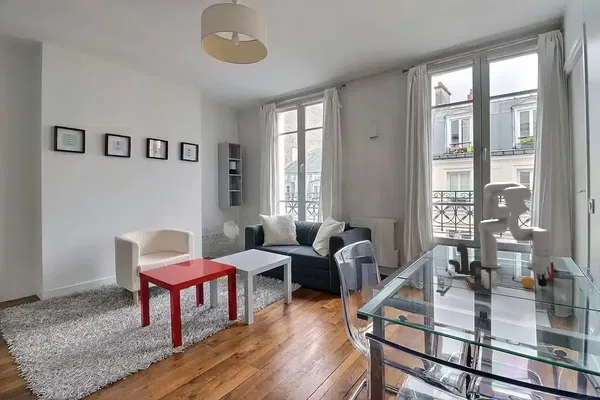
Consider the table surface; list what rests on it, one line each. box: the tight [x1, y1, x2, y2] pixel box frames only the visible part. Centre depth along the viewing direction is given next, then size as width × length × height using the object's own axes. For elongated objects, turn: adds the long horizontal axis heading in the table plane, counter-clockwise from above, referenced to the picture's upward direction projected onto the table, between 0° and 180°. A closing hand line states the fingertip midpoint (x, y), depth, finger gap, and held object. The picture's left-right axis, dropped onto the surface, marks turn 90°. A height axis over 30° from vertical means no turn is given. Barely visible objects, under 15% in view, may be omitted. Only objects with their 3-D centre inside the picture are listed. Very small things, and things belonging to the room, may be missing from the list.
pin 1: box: [480, 269, 487, 287], centre depth 168 cm, size 2×2×8 cm
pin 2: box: [483, 272, 490, 290], centre depth 163 cm, size 2×2×8 cm
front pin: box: [491, 270, 498, 288], centre depth 165 cm, size 2×2×8 cm
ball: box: [520, 276, 536, 289], centre depth 160 cm, size 6×6×6 cm
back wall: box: [465, 276, 476, 290], centre depth 168 cm, size 12×2×4 cm, turn 163°
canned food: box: [535, 259, 555, 282], centre depth 172 cm, size 8×8×11 cm
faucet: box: [448, 241, 482, 278], centre depth 191 cm, size 18×16×20 cm
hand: (542, 285), depth 158 cm, fingers closed
